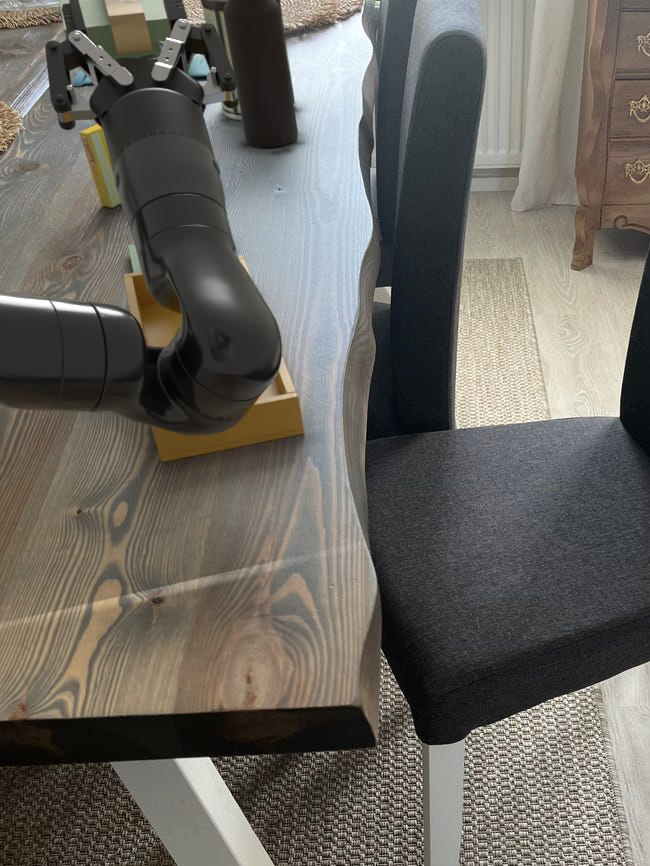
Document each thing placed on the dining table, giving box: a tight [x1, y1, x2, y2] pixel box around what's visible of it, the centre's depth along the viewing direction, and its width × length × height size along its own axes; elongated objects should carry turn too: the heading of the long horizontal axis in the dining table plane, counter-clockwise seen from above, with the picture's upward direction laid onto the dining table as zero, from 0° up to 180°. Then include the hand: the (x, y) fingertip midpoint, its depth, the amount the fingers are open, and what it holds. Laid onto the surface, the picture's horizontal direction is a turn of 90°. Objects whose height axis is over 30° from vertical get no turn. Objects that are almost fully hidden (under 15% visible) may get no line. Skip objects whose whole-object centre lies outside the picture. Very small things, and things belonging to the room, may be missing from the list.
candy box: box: [79, 123, 121, 209], centre depth 118 cm, size 16×2×8 cm, turn 150°
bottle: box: [223, 0, 299, 149], centre depth 124 cm, size 7×7×20 cm
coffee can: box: [199, 0, 297, 122], centre depth 134 cm, size 10×10×14 cm
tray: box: [122, 254, 305, 463], centre depth 89 cm, size 28×12×4 cm, turn 19°
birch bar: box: [103, 0, 152, 55], centre depth 83 cm, size 20×3×3 cm, turn 19°
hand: (121, 0), depth 79 cm, fingers open, 6 cm apart
